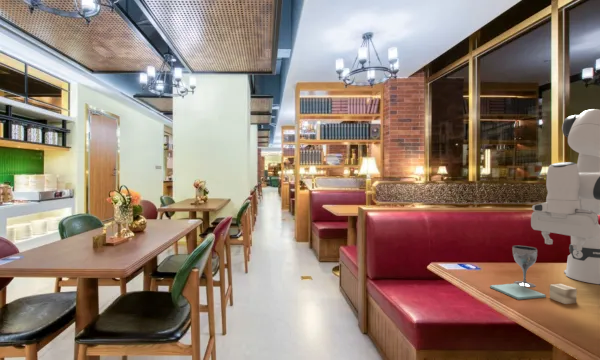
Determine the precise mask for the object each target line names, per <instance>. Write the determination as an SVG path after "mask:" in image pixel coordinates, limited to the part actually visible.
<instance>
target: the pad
mask: <svg viewBox="0 0 600 360" xmlns="http://www.w3.org/2000/svg"><path fill="white" fill-rule="evenodd" d="M489 287H490V288H491V289H492V290H495V291H496V292H497V291H498V292H499V293H501V294H505V295H507V296H509V297H511V298H513V299H516V300H518V301H519V300H530V299H531V300H532V299H541V298H546V297H547V295H546V294H545V293H542V292H539V291H538V290H537V291H536V290H534V289H532V288H530V287H524V286H521V285H518V284H516V283H505V284H490V285H489Z"/></svg>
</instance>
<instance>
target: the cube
mask: <svg viewBox="0 0 600 360" xmlns="http://www.w3.org/2000/svg"><path fill="white" fill-rule="evenodd" d="M577 294H578V293H577V288H576V287H573V286H569V285H566V284H563V283H554V284H553V283H552V284H549V299H551V300H554V301H556V302H559V303H562V304H564V305H569V304H571V305H572V304H577V303H578V302H577V299H578V298H577Z"/></svg>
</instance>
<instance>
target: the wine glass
mask: <svg viewBox="0 0 600 360" xmlns="http://www.w3.org/2000/svg"><path fill="white" fill-rule="evenodd" d="M512 256H513V259H514V261H515V263H516V264H517V265H518V266H520V268H521V270H522V274H523V277H522V278H523V280H521V281H520V280H516V281H513V284H515V283H516V284H518V285H521V286H524V287H526V288H537V287H536V286H537V285H536V284H534V283H533V282H532V283H531V282H528V281H527V279H526V278H527V271H528V269H529V268H531V267H532V266H533V265H535V263H536V261H537V257H538V249H537V247H534V246H527V245H512Z"/></svg>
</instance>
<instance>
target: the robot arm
mask: <svg viewBox="0 0 600 360" xmlns="http://www.w3.org/2000/svg"><path fill="white" fill-rule="evenodd" d="M561 131H562V133H563V135H564V136H565V137H566V138H567V144H568V146H569V147H570V149H571V150H573V151H575V152H576V153H578V157H577V163H576V162H573V161H572V162H571V161H568V162H566V161H562V162H554V163H551V164H550V165H548V169H547V173H546V181H545V182H546V183H545V184H546V190H547V195H546V199H545V202H542V203H537V204H533V205H532V207H531V209H532V211H533V212H532V213H531V216H530V226H531V228H532V229H533V230H534V231H540V232H541V235H542V237H543V239H544V244H546V245H553V242H554V240H553V239H552V238H551V237H550V234H552V233H553V234H559V235H564V236H569V237H570V244H569V247H568V249H569V253H570V254H569V255H567V261H566V267H565V268H566V269H564V270H563V273H564V274H565V276H566V277H568V278H570V279H572V280H577V281H579V282H585V283H589V284H594V285H595V284H596V285H600V224H599V216H600V109H598V108H596V109H595V108H591V109H587V110H583V111H582V112H581V113H580V114H574V115H569V116H568V117H566V118H564V121H563V123H562V126H561Z"/></svg>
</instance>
